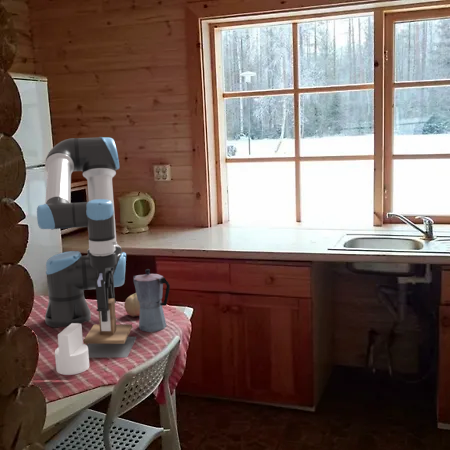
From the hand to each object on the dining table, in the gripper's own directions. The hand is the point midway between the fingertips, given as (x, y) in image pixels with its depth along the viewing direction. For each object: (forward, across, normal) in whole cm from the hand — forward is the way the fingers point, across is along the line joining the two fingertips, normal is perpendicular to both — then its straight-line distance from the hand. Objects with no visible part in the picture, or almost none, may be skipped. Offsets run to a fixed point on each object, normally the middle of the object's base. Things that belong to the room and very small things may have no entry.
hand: (108, 327), depth 177 cm
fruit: (+7, +28, -3) cm, 29 cm away
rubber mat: (+7, 0, 0) cm, 7 cm away
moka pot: (+7, +16, -11) cm, 20 cm away
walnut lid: (+3, 0, 0) cm, 3 cm away
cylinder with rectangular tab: (+7, -14, +7) cm, 17 cm away
